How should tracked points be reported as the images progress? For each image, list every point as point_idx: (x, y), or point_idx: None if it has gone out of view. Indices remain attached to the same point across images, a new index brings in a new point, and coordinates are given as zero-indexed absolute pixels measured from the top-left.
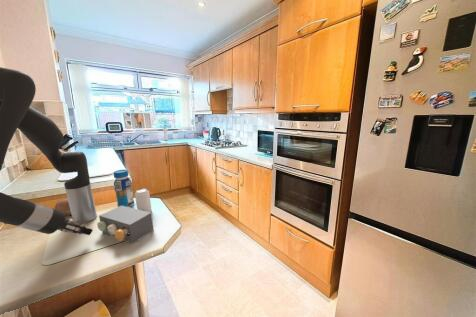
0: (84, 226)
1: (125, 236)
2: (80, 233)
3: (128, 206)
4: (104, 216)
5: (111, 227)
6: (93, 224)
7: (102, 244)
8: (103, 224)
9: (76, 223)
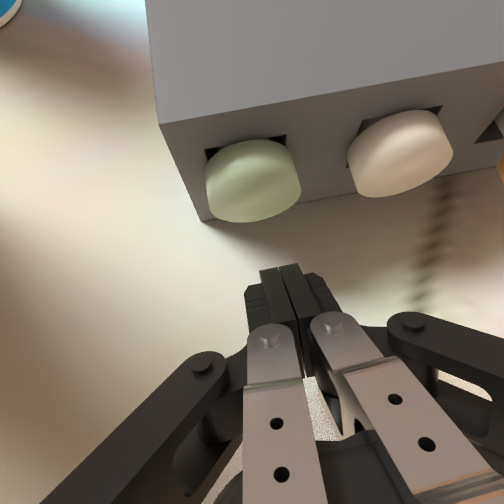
0: (421, 322)
1: (479, 151)
2: (476, 405)
3: (18, 2)
4: (240, 100)
5: (436, 149)
6: (12, 217)
7: (369, 277)
8: (290, 170)
9: (443, 414)
